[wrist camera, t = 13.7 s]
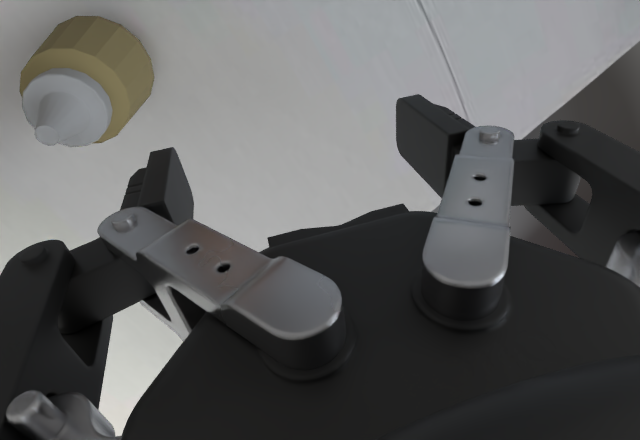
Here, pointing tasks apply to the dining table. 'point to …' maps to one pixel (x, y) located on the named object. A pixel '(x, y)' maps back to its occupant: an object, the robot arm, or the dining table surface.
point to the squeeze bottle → (85, 82)
